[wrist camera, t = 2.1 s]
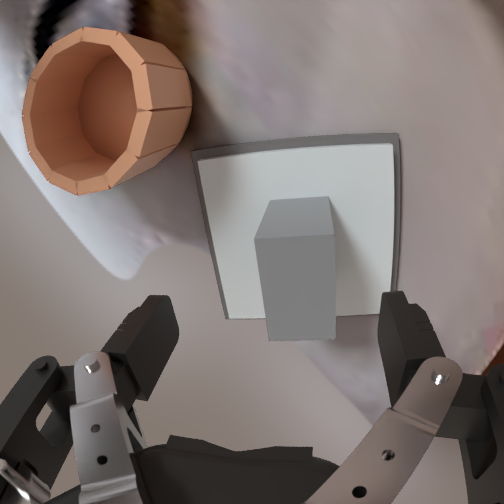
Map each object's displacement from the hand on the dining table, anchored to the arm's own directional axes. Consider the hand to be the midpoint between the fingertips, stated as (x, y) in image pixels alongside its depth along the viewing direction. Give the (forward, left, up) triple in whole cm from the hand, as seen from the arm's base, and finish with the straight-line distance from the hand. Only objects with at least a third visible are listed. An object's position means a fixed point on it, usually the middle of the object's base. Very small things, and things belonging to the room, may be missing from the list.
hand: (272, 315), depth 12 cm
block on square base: (-1, 0, -7) cm, 7 cm away
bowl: (+8, -9, -8) cm, 14 cm away
